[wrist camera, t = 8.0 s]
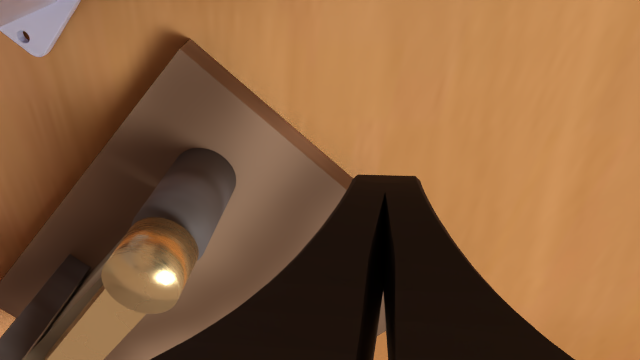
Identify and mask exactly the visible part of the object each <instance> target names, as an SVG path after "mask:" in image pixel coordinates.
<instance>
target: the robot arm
mask: <svg viewBox="0 0 640 360" xmlns="http://www.w3.org/2000/svg"><path fill="white" fill-rule="evenodd" d="M80 1H81V0H0V31H1V32H2V33H4V34H5V35H6V36H8V37H9V38H10V39H12V40H13V41H14V42H15V43H17V44H18V45H19V46H21V47H22V48H23V49H25V50H26V51H27V52H28V53H30V54H31V55H33V56H36V57H42V56H45V55H46V54H48V53H49V52H50V51H51V49H52V47H53V46H54V44H55V43H56V41H57V39H58V38H59V36H60V34H61V33H62V31H63V29H64V28H65V26H66V24H67V23H68V21H69V19H70V18H71V16H72V14H73V13H74V11H75V10H76V8H77V6H78V5H79V3H80ZM23 31H25V32H26V33H27V34H28V35H29V37H30V40H28V39H26V38H25V36H24V34H23ZM383 293H384V307H385V321H386V335H387V348H388V360H575V359H573V358H572V357H571V356H569V355H568V354H567V353H565V352H564V351H563V350H561V349H560V348H558V347H557V346H556V345H554V344H553V343H552V342H551V341H549V340H548V339H547V338H546V337H544V336H543V335H542V334H541V333H540V332H539V331H537V330H536V329H535V328H534V327H533V326H532V325H530V324H529V323H528V322H527V321H526V320H525V319H524V318H522V317H521V316H520V315H519V314H518V313H517V312H516V311H514V310H513V309H512V308H511V307H510V306H509V305H508V304H507V303H506V302H505V301H504V300H503V299H502V298H501V297H500V296H499V295H498V294H497V293H496V292H495V291H494V290H493V289H492V287H491V286H490V285H489V284H488V283H487V282H486V281H485V280H484V279H483V278H482V277H481V275H480V274H479V273H478V272H477V271H476V270H475V268H474V267H473V266H472V265H471V263H470V262H469V261H468V260H467V258H466V257H465V256H464V254H463V253H462V252H461V251H460V249H459V248H458V247H457V245H456V244H455V242H454V241H453V239H452V238H451V237H450V235H449V234H448V232H447V230H446V229H445V227H444V226H443V224H442V223H441V221H440V220H439V218H438V216H437V215H436V213H435V211H434V210H433V208H432V206H431V204H430V202H429V200H428V198H427V196H426V194H425V192H424V190H423V188H422V185H421V182H420V180H419V179H418V178H417V177H416V176H387V175H357V176H356V177H355V178H353V179H352V181H351V184H350V185H349V187H348V189H347V191H346V192H345V194H344V196H343V197H342V199H341V200H340V202H339V203H338V205H337V206H336V208H335V209H334V211H333V212H332V213H331V215H330V216H329V217H328V219H327V220H326V222H325V223H324V224H323V226H322V227H321V228H320V229H319V231H318V232H317V233H316V234H315V235H314V236H313V238H312V239H311V240H310V241H309V242H308V243H307V245H306V246H305V247H304V248H303V249H302V250H301V252H300V253H299V254H298V255H297V256H296V257H295V258H294V259H293V260H292V261H291V262H290V263H289V264H288V265H287V266H286V267H285V268H284V269H283V270H282V271H281V272H280V273H278V274H277V275H276V276H275V277H274V278H273V279H272V280H271V281H270V282H269V283H267V284H266V285H265V286H264V287H263V288H261V289H260V290H259V291H258V292H257V293H255V294H254V295H253V296H252V297H250V298H249V299H248V300H247V301H245V302H244V303H243V304H241V305H240V306H239V307H237V308H236V309H235V310H233V311H232V312H230V313H229V314H227V315H226V316H224V317H223V318H221V319H220V320H218V321H217V322H215V323H214V324H212V325H211V326H209V327H207V328H206V329H204V330H203V331H201V332H199V333H198V334H196V335H194V336H193V337H191V338H189V339H188V340H186V341H184V342H182V343H180V344H178V345H176V346H175V347H173V348H171V349H169V350H167V351H165V352H163V353H161V354H159V355H158V356H156V357H154V358H152V359H150V360H373V358H374V351H375V344H376V338H377V331H378V324H379V317H380V310H381V303H382V296H383Z"/></svg>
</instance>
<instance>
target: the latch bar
mask: <svg viewBox="0 0 640 360" xmlns="http://www.w3.org/2000/svg"><path fill="white" fill-rule="evenodd" d="M198 255H199V250H198V246H197V243H196V241H195V239H194V238H193V236H192V235H191V234H190V233H189V231H187V230H186V229H185V228H184V227H183V226H181V225H180V224H178V223H176V222H174V221H172V220H169V219H165V218H161V217H148V218H143V219H141V220H139V221H137V222H136V223H134V224H133V225H132V227H131V228H130V229H129V231H128V232H127V234H126V235H125V236H124V238H123V239H122V241H121V242H120V244H119V245H118V246H117V248H116V249H115V251H114V252H113V253H112V255H111V256H110V258H109V259H108V260H107V262H106V263H105V265H104V266H103V269H102V273H101V278H102V282H103V285H102V286H101V288H100V289H99V290H98V291H97V293H96V294H95V295H94V296H93V297H92V299H91V300H90V301H89V302H88V304H87V305H86V306H85V307H84V309H83V310H82V311H81V312H80V313H79V315H78V316H77V317H76V318H75V320H74V321H73V322H72V323H71V325H70V326H69V327H68V328H67V329H66V331H65V332H64V333H63V334H62V336H61V337H60V338H59V339H58V341H57V342H56V343H55V344H54V345H53V347H52V348H51V349H50V350H49V352H48V353H47V354H46V355H45V357H44V358H43V359H42V360H104V358H105V357H106V356H107V355H108V354H109V353H110V352H111V351H112V350H113V349H114V348H115V347H116V346H117V345H118V344H119V343H120V341H121V340H122V339H123V338H124V337H125V336H126V335H127V334H128V333H129V332H130V331H131V330H132V329H133V328H134V327H135V325H136V324H137V323H138V322H139V321H140V320H141V319H142V318H143V317H144V316H145V315H146V314H158V313H162V312H165V311H168V310H170V309H171V308H172V307H173V306H174V305H175V304H176V303H177V301H178V299H179V297H180V295H181V292H182V290H183V288H184V286H185V284H186V282H187V280H188V278H189V276H190V274H191V272H192V270H193V268H194V266H195V264H196V262H197V259H198Z"/></svg>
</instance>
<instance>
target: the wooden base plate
mask: <svg viewBox="0 0 640 360" xmlns="http://www.w3.org/2000/svg"><path fill="white" fill-rule="evenodd" d="M352 179H353V178H352V177H350V176H349V175H348V174H347V173H346V172H345V171H343V170H342V169H341V168H340V167H339V166H338V165H336V164H335V163H334V162H333V161H332V160H331V159H329V158H328V157H327V156H326V155H325V154H324V153H322V152H321V151H320V150H319V149H318V148H317V147H315V146H314V145H313V144H312V143H311V142H310V141H308V140H307V139H306V138H305V137H304V136H303V135H301V134H300V133H299V132H298V131H297V130H296V129H294V128H293V127H292V126H291V125H290V124H289V123H287V122H286V121H285V120H284V119H283V118H282V117H280V116H279V115H278V114H277V113H276V112H275V111H273V110H272V109H271V108H270V107H269V106H268V105H266V104H265V103H264V102H263V101H262V100H261V99H259V98H258V97H257V96H256V95H255V94H254V93H252V92H251V91H250V90H249V89H248V88H247V87H246V86H244V85H243V84H242V83H241V82H240V81H239V80H237V79H236V78H235V77H234V76H233V75H232V74H230V73H229V72H228V71H227V70H226V69H225V68H223V67H222V66H221V65H220V64H219V63H218V62H216V61H215V60H214V59H213V58H212V57H211V56H209V55H208V54H207V53H206V52H205V51H204V50H202V49H201V48H200V47H199V46H198V45H197V44H195V43H194V42H193V41H192V40H191V39H190V40H189V41H188V42H187V43H186V44H184V45H183V46H182V47H181V48H180V49H179V50H178V52H177V53H176V54H175V56H174V57H173V58H172V60H171V61H170V62H169V63H168V65H167V66H166V67H165V69H164V70H163V71H162V72H161V74H160V75H159V76H158V78H157V79H156V80H155V82H154V83H153V84H152V85H151V87H150V88H149V89H148V91H147V92H146V93H145V95H144V96H143V97H142V98H141V100H140V101H139V102H138V104H137V105H136V106H135V108H134V109H133V110H132V111H131V113H130V114H129V115H128V117H127V118H126V119H125V121H124V122H123V123H122V124H121V126H120V127H119V128H118V130H117V131H116V132H115V134H114V135H113V136H112V137H111V139H110V140H109V141H108V143H107V144H106V145H105V147H104V148H103V149H102V150H101V152H100V153H99V154H98V156H97V157H96V158H95V160H94V161H93V162H92V163H91V165H90V166H89V167H88V169H87V170H86V171H85V172H84V174H83V175H82V176H81V178H80V179H79V180H78V182H77V183H76V184H75V185H74V187H73V188H72V189H71V191H70V192H69V193H68V195H67V196H66V197H65V198H64V200H63V201H62V202H61V204H60V205H59V206H58V208H57V209H56V210H55V211H54V213H53V214H52V215H51V217H50V218H49V219H48V221H47V222H46V223H45V224H44V226H43V227H42V228H41V230H40V231H39V232H38V234H37V235H36V236H35V237H34V239H33V240H32V241H31V243H30V244H29V245H28V247H27V248H26V249H25V250H24V252H23V253H22V254H21V256H20V257H19V258H18V260H17V261H16V262H15V263H14V265H13V266H12V267H11V269H10V270H9V271H8V273H7V274H6V275H5V276H4V278H3V279H2V280H1V282H0V308H1V309H2V310H4V311H5V312H7V313H9V314H10V315H12V316H14V317H15V318H16V319H15V321H14V322H13V323H12V324H11V326H10V327H9V328H8V329H7V330H6V332H5V333H4V334H3V335H2V337H1V338H0V360H42V359H43V358H44V357H45V355H46V354H47V353H48V352H49V350H50V349H51V348H52V347H53V345H54V344H55V343H56V342H57V341H58V339H59V338H60V337H61V336H62V334H63V333H64V332H65V331H66V329H67V328H68V327H69V326H70V325H71V323H72V322H73V321H74V320H75V318H76V317H77V316H78V315H79V313H80V312H81V311H82V310H83V309H84V307H85V306H86V305H87V304H88V302H89V301H90V300H91V299H92V297H93V296H94V295H95V294H96V293H97V291H98V290H99V289H100V288H101V286H102V285H103V282H102V278H101V273H102V269H103V266H104V265H105V263H106V262H107V260H108V259H109V258H110V256H111V255H112V253H113V252H114V251H115V249H116V248H117V246H118V245H119V244H120V242H121V241H122V239H123V238H124V236H125V235H126V234H127V232H128V231H129V229H130V228H131V227H132V225H133V224H134V223H136V222H137V221H139V220H141V219H143V218H148V217H161V218H165V219H169V220H172V221H174V222H176V223H178V224H180V225H181V226H183V227H184V228H185V229H186V230H187V231H189V233H190V234H191V235H192V236H193V238H194V239H195V241H196V243H197V246H198V250H199V255H198V259H197V262H196V264H195V266H194V268H193V270H192V272H191V274H190V276H189V278H188V280H187V282H186V284H185V286H184V288H183V290H182V292H181V295H180V297H179V299H178V301H177V303H176V304H175V305H174V306H173V307H172V308H171V309H170V310H168V311H165V312H162V313H158V314H146V315H145V316H144V317H143V318H142V319H141V320H140V321H139V322H138V323H137V324H136V325H135V327H134V328H133V329H132V330H131V331H130V332H129V333H128V334H127V335H126V336H125V337H124V338H123V339H122V340H121V341H120V343H119V344H118V345H117V346H116V347H115V348H114V349H113V350H112V351H111V352H110V353H109V354H108V355H107V356H106V357H105V358H104V360H150V359H152V358H154V357H156V356H158V355H159V354H161V353H163V352H165V351H167V350H169V349H171V348H173V347H175V346H176V345H178V344H180V343H182V342H184V341H186V340H188V339H189V338H191V337H193V336H194V335H196V334H198V333H199V332H201V331H203V330H204V329H206V328H207V327H209V326H211V325H212V324H214V323H215V322H217V321H218V320H220V319H221V318H223V317H224V316H226V315H227V314H229V313H230V312H232V311H233V310H235V309H236V308H237V307H239V306H240V305H241V304H243V303H244V302H245V301H247V300H248V299H249V298H250V297H252V296H253V295H254V294H255V293H257V292H258V291H259V290H260V289H261V288H263V287H264V286H265V285H266V284H267V283H269V282H270V281H271V280H272V279H273V278H274V277H275V276H276V275H277V274H278V273H280V272H281V271H282V270H283V269H284V268H285V267H286V266H287V265H288V264H289V263H290V262H291V261H292V260H293V259H294V258H295V257H296V256H297V255H298V254H299V253H300V252H301V250H302V249H303V248H304V247H305V246H306V245H307V243H308V242H309V241H310V240H311V239H312V238H313V236H314V235H315V234H316V233H317V232H318V231H319V229H320V228H321V227H322V226H323V224H324V223H325V222H326V220H327V219H328V217H329V216H330V215H331V213H332V212H333V211H334V209H335V208H336V206H337V205H338V203H339V202H340V200H341V199H342V197H343V196H344V194H345V192H346V191H347V189H348V187H349V185H350V184H351V181H352ZM385 331H386V321H385V307H384V293H383V296H382V303H381V310H380V317H379V324H378V331H377V336H378V335H380V334H381V333H383V332H385Z"/></svg>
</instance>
